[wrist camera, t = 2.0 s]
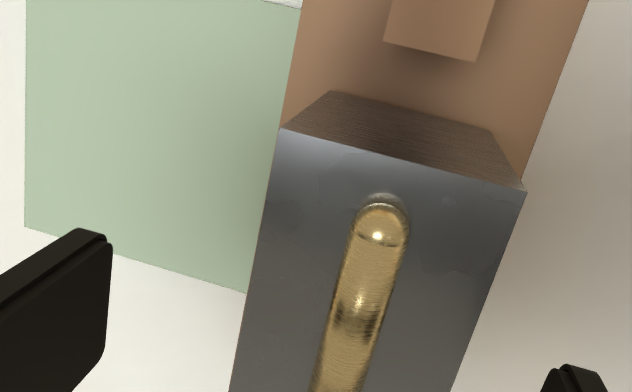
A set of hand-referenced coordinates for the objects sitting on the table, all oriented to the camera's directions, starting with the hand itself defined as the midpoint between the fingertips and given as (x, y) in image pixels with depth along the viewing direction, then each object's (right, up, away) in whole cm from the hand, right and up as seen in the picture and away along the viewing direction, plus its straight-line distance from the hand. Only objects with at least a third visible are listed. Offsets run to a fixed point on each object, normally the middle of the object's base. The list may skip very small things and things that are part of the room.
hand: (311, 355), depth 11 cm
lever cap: (+2, +2, +7) cm, 7 cm away
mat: (-6, +6, +11) cm, 14 cm away
